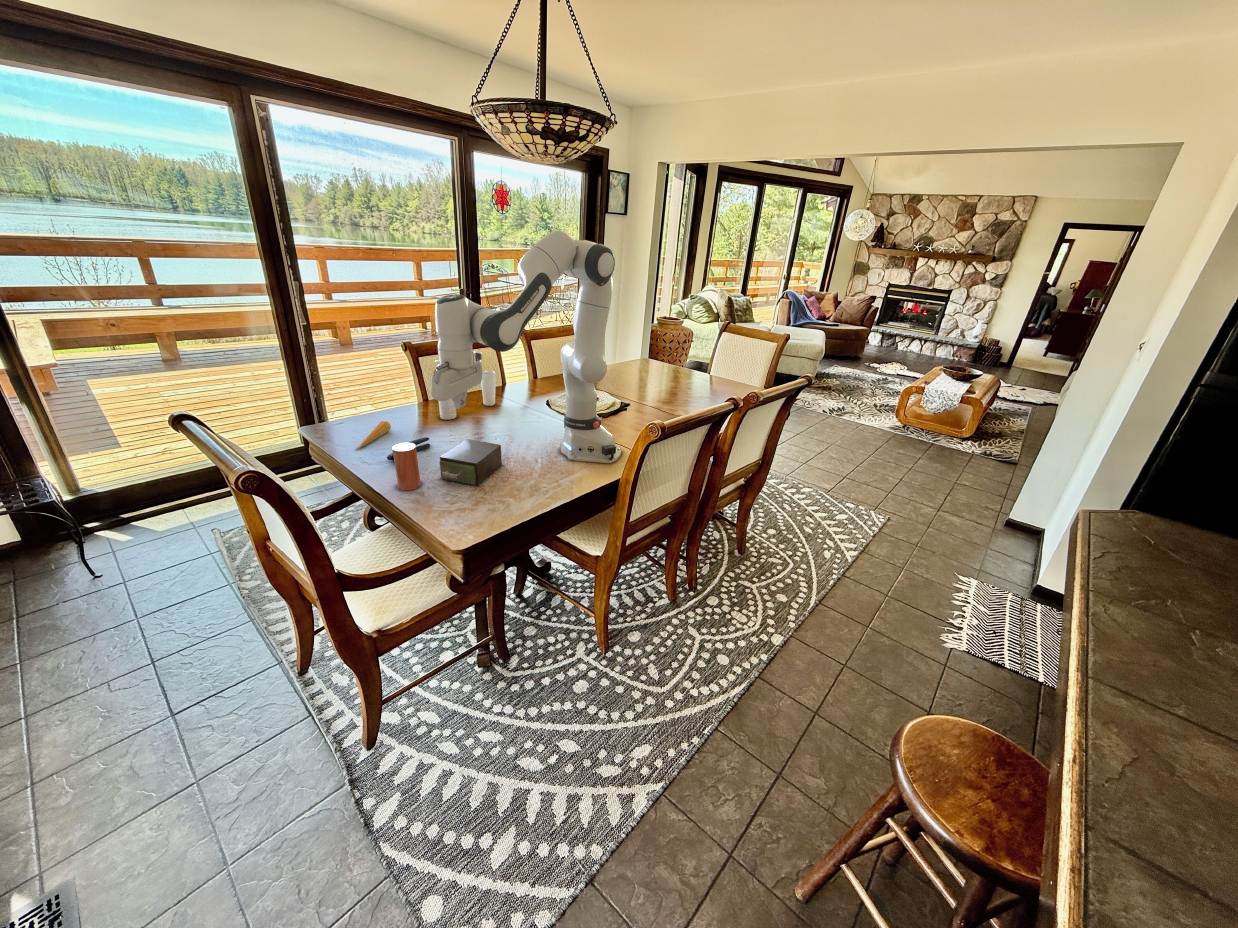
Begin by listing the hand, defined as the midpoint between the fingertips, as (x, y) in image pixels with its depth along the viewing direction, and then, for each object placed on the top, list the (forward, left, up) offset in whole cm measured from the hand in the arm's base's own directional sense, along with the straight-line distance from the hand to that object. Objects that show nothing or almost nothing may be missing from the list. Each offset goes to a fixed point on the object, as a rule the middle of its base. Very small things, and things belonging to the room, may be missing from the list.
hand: (460, 407), depth 135 cm
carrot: (+52, -22, -27) cm, 63 cm away
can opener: (+31, -16, -27) cm, 44 cm away
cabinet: (+5, -12, -27) cm, 30 cm away
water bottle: (+40, -52, -27) cm, 71 cm away
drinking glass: (+33, -75, -27) cm, 86 cm away
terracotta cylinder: (+18, +3, -27) cm, 33 cm away
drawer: (+5, -8, -26) cm, 28 cm away
